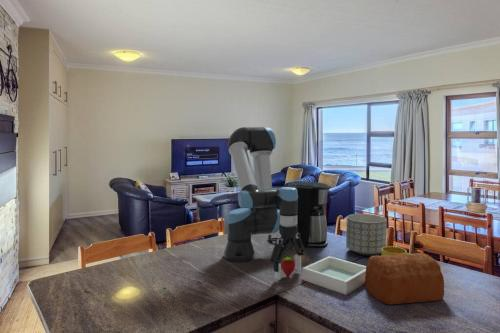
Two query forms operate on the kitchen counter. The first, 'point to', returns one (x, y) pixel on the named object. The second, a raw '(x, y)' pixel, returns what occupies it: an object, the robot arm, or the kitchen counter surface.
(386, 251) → the plant pot
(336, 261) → the serving bin
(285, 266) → the strawberry
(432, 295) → the bread
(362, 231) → the planter
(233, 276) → the kitchen counter surface
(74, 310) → the kitchen counter surface
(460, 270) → the kitchen counter surface
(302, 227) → the coffee maker
